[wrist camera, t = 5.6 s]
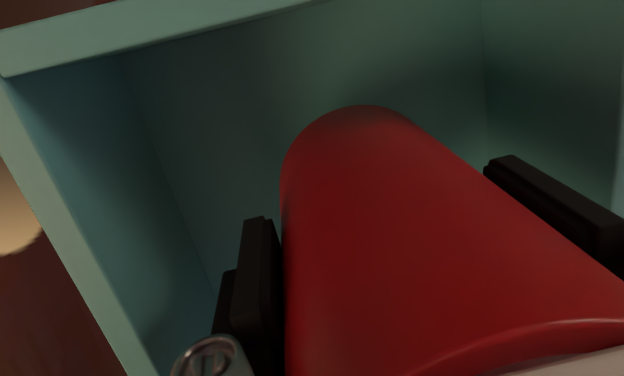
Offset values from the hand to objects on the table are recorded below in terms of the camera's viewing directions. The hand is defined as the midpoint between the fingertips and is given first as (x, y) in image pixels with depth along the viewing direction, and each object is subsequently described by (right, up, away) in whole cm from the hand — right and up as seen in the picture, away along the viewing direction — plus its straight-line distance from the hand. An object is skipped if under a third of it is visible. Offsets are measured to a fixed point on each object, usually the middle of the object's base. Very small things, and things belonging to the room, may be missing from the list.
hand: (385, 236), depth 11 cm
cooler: (-1, +1, +8) cm, 8 cm away
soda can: (0, +2, +4) cm, 4 cm away
